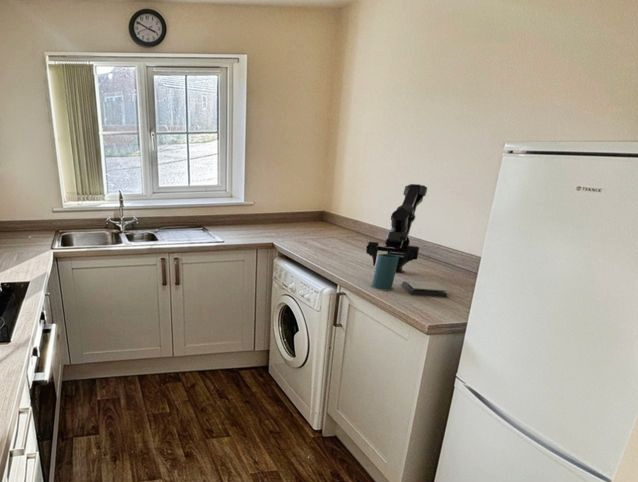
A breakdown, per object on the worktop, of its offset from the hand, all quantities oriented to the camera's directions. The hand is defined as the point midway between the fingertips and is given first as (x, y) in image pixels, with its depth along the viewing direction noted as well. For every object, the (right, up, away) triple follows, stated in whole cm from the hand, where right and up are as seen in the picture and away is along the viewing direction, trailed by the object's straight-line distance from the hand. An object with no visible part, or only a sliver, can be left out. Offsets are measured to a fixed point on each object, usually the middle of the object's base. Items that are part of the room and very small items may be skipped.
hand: (386, 267), depth 183 cm
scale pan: (+14, -8, -3) cm, 16 cm away
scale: (+14, -10, -2) cm, 17 cm away
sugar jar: (0, -8, +3) cm, 8 cm away
